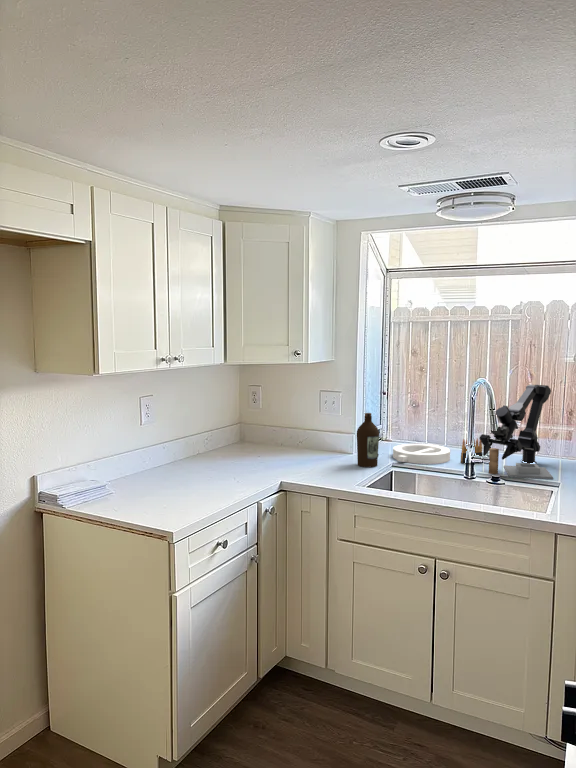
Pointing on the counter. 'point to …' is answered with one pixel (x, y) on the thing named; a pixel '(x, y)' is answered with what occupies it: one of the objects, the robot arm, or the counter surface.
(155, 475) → the counter surface
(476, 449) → the ammunition clip
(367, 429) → the olive oil
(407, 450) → the ring with crossbar
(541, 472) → the holder
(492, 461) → the walnut pin
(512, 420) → the robot arm
